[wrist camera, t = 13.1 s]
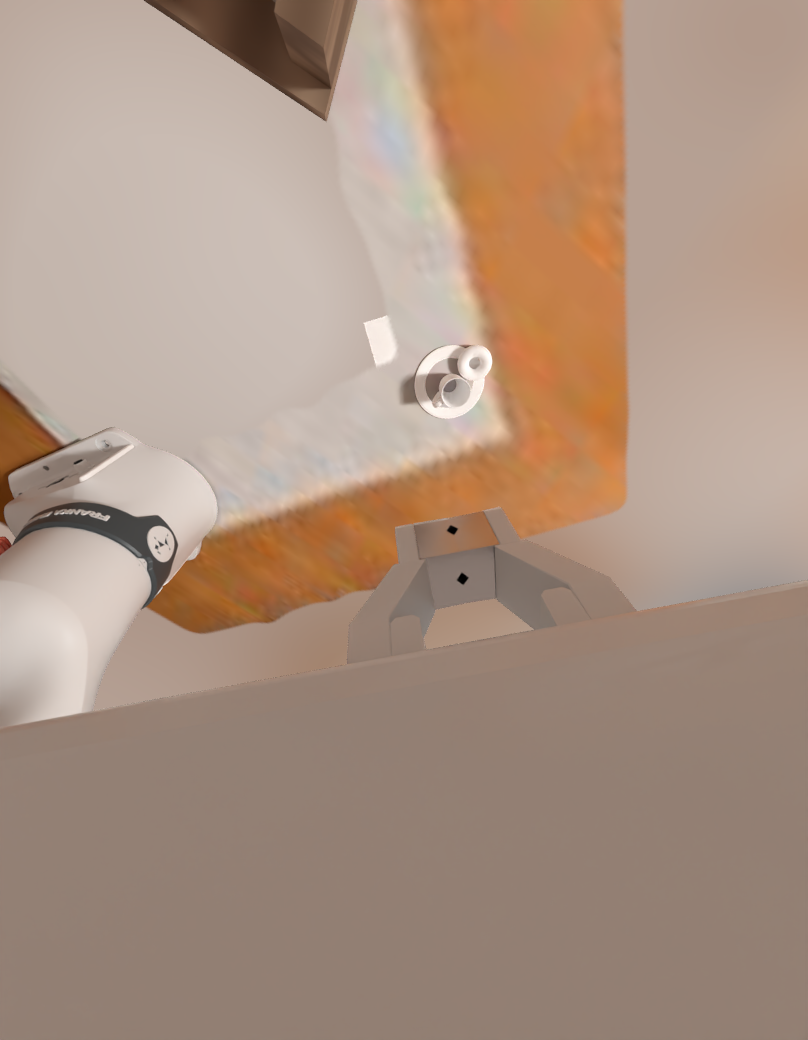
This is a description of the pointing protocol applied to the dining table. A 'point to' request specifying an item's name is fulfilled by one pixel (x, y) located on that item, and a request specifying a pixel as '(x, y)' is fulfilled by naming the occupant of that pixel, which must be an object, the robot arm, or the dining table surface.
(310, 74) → the pipe rig
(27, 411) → the dining table surface
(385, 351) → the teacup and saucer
